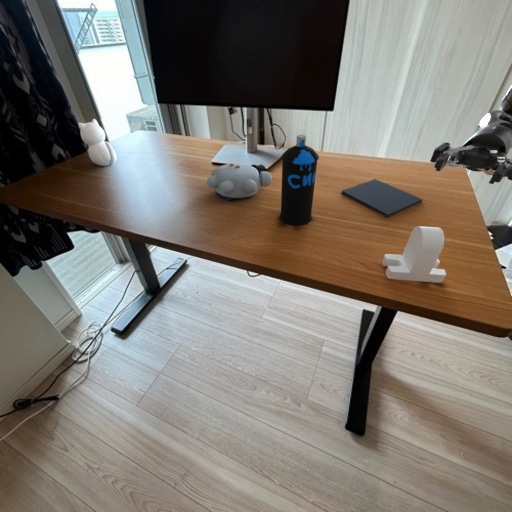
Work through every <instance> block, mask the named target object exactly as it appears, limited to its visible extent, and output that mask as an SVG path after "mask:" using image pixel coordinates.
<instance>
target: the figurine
mask: <svg viewBox="0 0 512 512" xmlns="http://www.w3.org/2000/svg"><path fill="white" fill-rule="evenodd" d="M210 174H211V176H209V177H208V178H207V179H206V185H207V186H208V187H209V188H211V189H214V190H215V196H216V197H222V198H224V199H225V200H226V201H227V202H228V201H232V200H234V199H244V198H249V197H253V196H254V195H256V194H257V193H258V192H259V190H260V187H261V188H263V187H269V186H271V184H272V181H273V177H272V174H271V173H270V172H268V171H267V168H266V166H265V165H264V164H251V165H249V164H247V163H242V162H234V163H232V162H231V163H226V164H223V165H220V166H218V167H216V168H214V169H212V170H211V173H210Z"/></svg>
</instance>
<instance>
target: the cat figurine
mask: <svg viewBox="0 0 512 512" xmlns="http://www.w3.org/2000/svg"><path fill="white" fill-rule="evenodd" d="M77 124H78V128H79V130H80V137H81V140H82V141H83V143H84V144H85V145H88V157H89V159H90V160H91V161H92V162H93V163H94V164H95V165H98V166H101V167H108V166H111V165H113V164H114V163H116V162H117V158H118V157H117V154H116V151H115V149H114V147H113V146H112V144H111V143H110V142H109V141H107V140H106V132H105V130H104V129H103V127H102V126H100V125H99V122H98V121H97V119H95V118H92V120H91V122H90V121H89V122H85V123H84V122H78V123H77Z"/></svg>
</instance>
